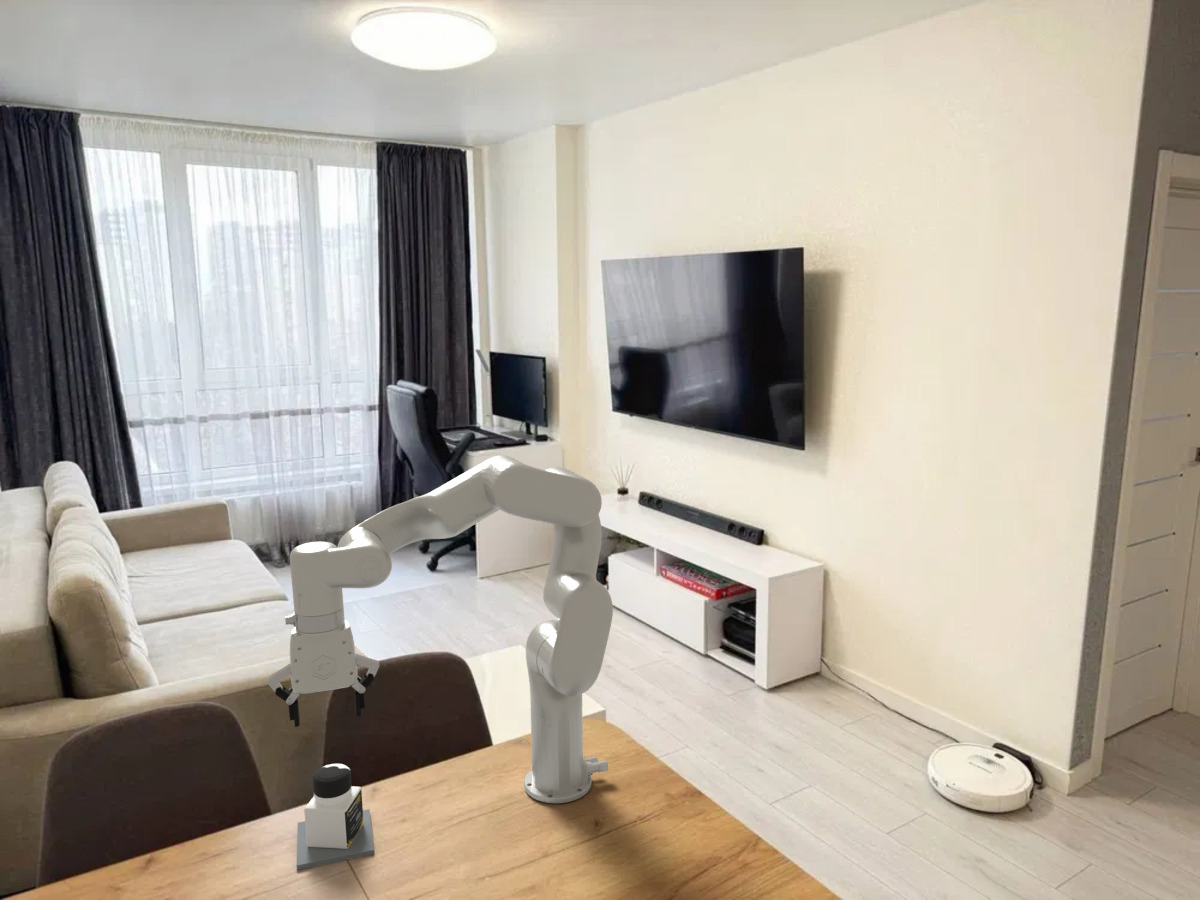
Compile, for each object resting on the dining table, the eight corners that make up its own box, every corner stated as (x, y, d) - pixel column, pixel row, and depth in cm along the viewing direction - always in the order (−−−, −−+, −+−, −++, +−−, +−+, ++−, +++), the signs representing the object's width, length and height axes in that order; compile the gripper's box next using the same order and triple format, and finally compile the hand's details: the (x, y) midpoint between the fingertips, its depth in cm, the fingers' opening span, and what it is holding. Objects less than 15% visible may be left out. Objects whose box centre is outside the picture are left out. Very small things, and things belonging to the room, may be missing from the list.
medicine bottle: (348, 850, 139) (343, 783, 137) (306, 847, 140) (301, 781, 138) (364, 823, 146) (360, 759, 144) (324, 821, 147) (319, 757, 145)
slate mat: (369, 813, 151) (369, 809, 151) (374, 854, 139) (374, 849, 139) (298, 826, 147) (297, 822, 147) (296, 870, 136) (296, 865, 136)
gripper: (261, 635, 130) (271, 738, 133) (377, 619, 136) (384, 719, 139) (263, 618, 137) (273, 716, 140) (373, 604, 143) (380, 699, 146)
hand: (328, 717), depth 139 cm, fingers open, 9 cm apart
